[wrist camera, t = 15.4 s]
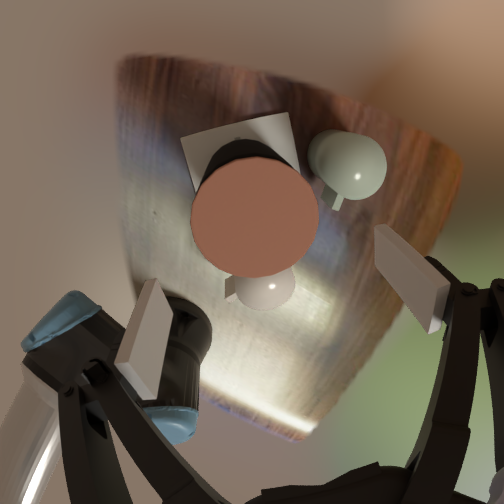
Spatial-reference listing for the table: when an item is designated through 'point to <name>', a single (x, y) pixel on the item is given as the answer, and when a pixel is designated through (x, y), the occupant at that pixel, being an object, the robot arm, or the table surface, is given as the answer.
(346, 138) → the mug sage
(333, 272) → the table surface
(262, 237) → the coffee jar
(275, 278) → the mug cream
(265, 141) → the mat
